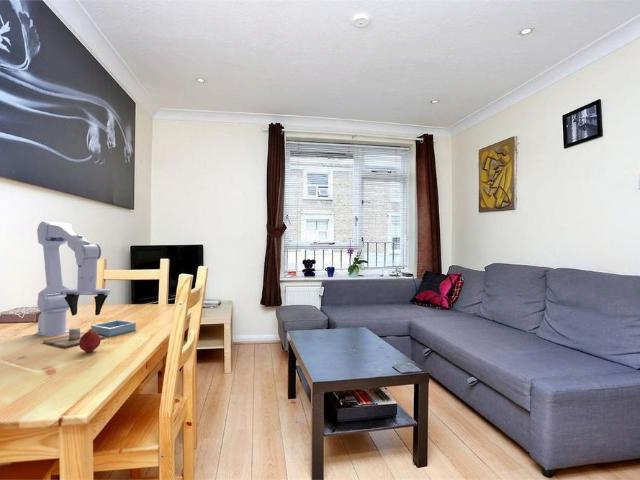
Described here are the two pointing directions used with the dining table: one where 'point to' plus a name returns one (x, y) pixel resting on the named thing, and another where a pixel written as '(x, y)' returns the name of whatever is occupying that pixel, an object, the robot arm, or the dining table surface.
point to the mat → (61, 347)
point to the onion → (89, 341)
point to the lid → (67, 339)
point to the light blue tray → (114, 328)
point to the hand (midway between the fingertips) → (86, 314)
